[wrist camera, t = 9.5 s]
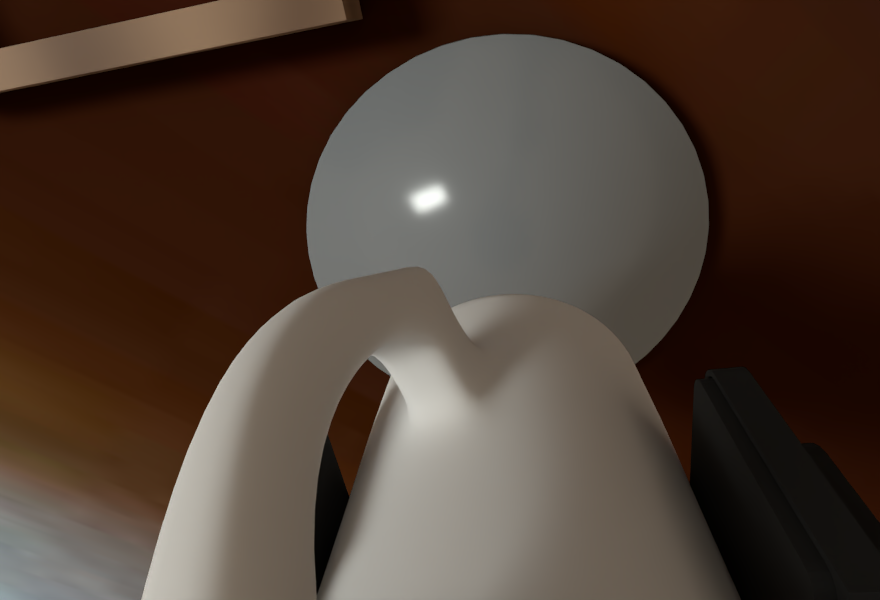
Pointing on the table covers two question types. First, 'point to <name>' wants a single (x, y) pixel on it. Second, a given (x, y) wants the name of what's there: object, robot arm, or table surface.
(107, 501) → the table surface
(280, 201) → the table surface
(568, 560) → the mug
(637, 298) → the grey round disc
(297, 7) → the corral
